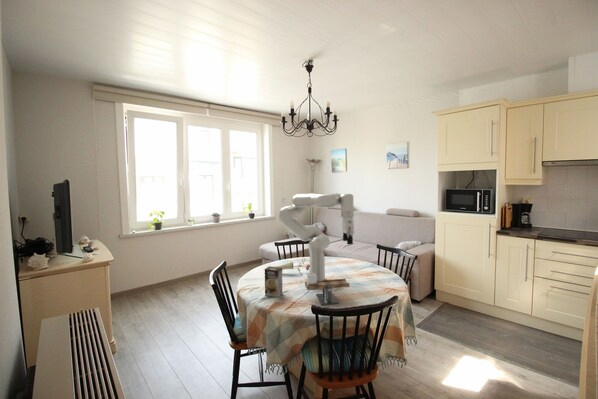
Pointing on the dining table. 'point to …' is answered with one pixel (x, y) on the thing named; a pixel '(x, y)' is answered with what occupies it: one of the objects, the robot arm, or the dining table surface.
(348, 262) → the dining table surface
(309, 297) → the dining table surface
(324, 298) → the pivot stand
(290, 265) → the flower vase
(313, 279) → the rider
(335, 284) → the beam
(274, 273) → the coffee box
